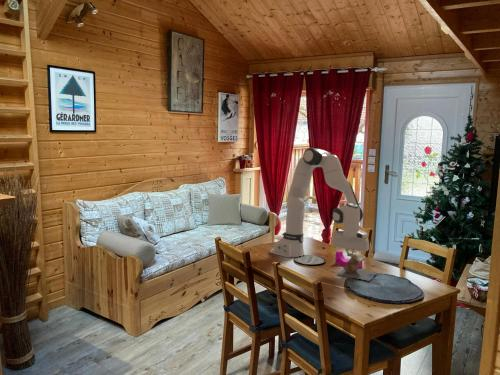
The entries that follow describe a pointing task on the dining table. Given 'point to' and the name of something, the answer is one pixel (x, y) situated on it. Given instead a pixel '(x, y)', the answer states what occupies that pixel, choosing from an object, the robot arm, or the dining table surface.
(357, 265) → the walnut block
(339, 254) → the toy block
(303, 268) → the dining table surface
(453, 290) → the dining table surface
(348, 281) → the dining table surface
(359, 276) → the mat
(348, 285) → the dining table surface
